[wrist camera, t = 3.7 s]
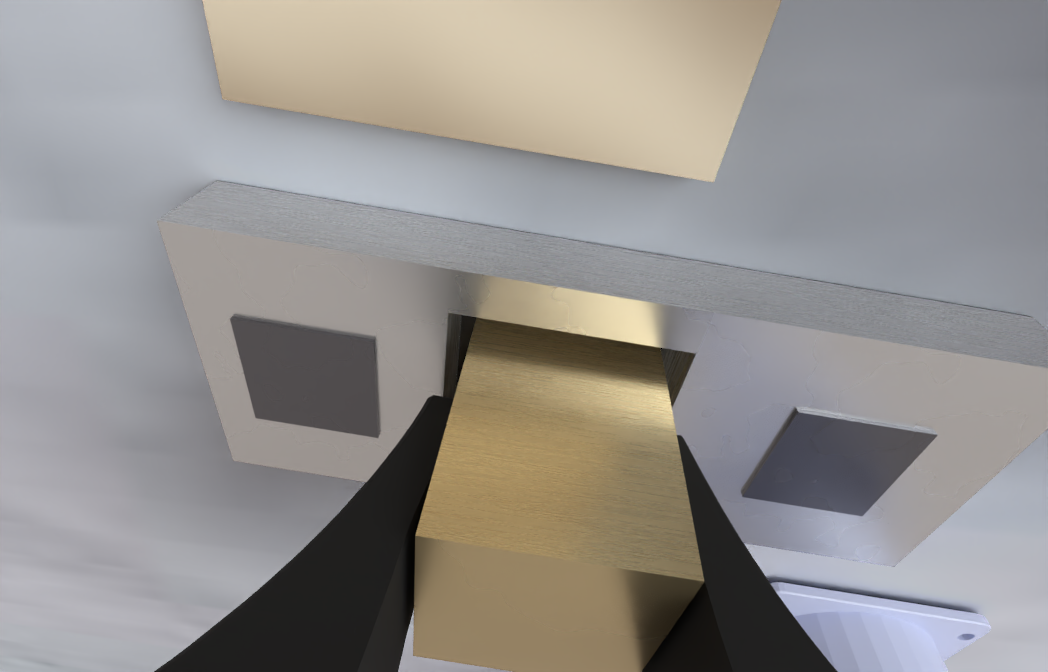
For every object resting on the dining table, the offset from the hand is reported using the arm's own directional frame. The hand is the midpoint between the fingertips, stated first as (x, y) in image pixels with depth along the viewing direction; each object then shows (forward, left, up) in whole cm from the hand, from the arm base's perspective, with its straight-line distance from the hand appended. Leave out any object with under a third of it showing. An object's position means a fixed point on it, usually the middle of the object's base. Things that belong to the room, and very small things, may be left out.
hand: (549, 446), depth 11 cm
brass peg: (0, 0, -3) cm, 3 cm away
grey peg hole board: (0, -1, -3) cm, 3 cm away
